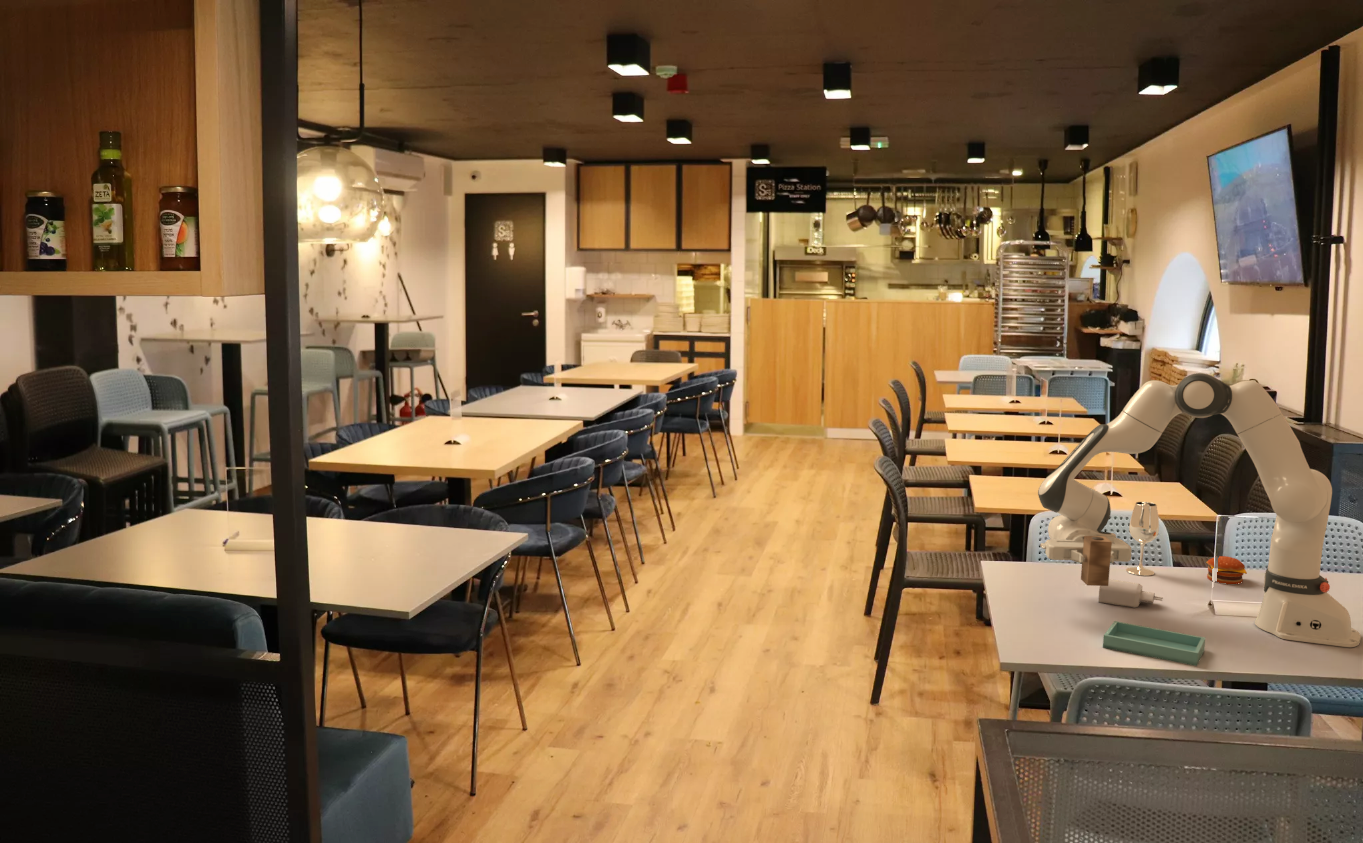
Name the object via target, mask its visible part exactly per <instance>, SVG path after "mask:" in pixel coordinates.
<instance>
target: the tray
mask: <svg viewBox="0 0 1363 843" xmlns="http://www.w3.org/2000/svg"><path fill="white" fill-rule="evenodd" d="M1205 645H1206V637H1203V636H1199V635H1192V634H1188V633H1184V632H1183V633H1181V632H1178V631H1172V630H1171V631H1170V630H1166V629H1161V628H1155V627H1150V626H1149V627H1148V626H1143V625H1139V624H1133V623H1129V622H1123V621H1118V620H1117V621H1116V620H1114V621H1113V622H1112V624H1111V625H1110V626H1109V627H1108V629H1107V630H1106V632H1105V633H1104V634H1103V641H1102V648H1103V649H1108V650H1113V651H1117V652H1118V651H1119V652H1123V653H1128V654H1133V655H1139V656H1142V657H1144V656H1145V657H1148V658H1153V659H1154V658H1155V659H1158V660H1164V661H1169V662H1175V663H1180V664H1185V665H1189V666H1194V667H1197V666H1198V665H1199V662H1200V660H1201V659H1202V657H1203V654H1204V652H1205V649H1206V648H1205V647H1206V646H1205Z"/></svg>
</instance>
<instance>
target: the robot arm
mask: <svg viewBox="0 0 1363 843" xmlns="http://www.w3.org/2000/svg"><path fill="white" fill-rule="evenodd" d="M1180 414H1185V415H1187V416H1190V417H1193V418H1196V419H1197V418H1199V419H1204V418H1205V419H1206V418H1208V417H1212V416H1213V415H1222V416H1224V418H1226V419H1227V420H1228V422H1229V423H1230V424H1231V425H1232V426H1231V427H1232V428H1233V430H1234V431H1235V433H1236V434H1237V436H1238V437H1239V438H1238V439H1239V440H1240V441H1241V444H1243V446H1244V449H1245V450H1246V451H1247V453H1248V455H1249V457H1250V460H1251V461H1252V463H1253V464H1254V467H1255V470H1256V471H1257V474H1258V476H1259V479H1260V481H1261V484H1262V486H1263V489H1264V491H1265V493H1266V494H1267V497H1268V499H1269V501H1270V505H1271V508H1272V510H1273V512H1274V514H1275V515H1276V517H1275V522H1274V526H1273V530H1272V534H1271V537H1270V538H1271V539H1270V548H1269V556H1268V563H1267V564H1268V566H1267V568H1266V570H1265V573H1264V579H1263V591H1264V593H1263V598H1262V600H1261V605H1260V608H1259V611H1258V614H1257V617H1256V619H1255V620H1254V624H1255V625H1256V627H1257V628H1259V629H1260V630H1262V631H1265V632H1267V633H1270V634H1273V635H1274V636H1276V637H1278V638H1279V639H1283V640H1288V641H1297V642H1305V643H1312V644H1320V645H1325V646H1326V645H1327V646H1336V647H1343V648H1355V647H1357V646H1358V645H1360V644H1359V643H1361V641H1362V639H1361V637H1362V636H1361V634H1360V632H1359V631H1358V630H1357V629H1355V628H1353V627H1352V621H1351V615H1350V613H1349V611H1348V609H1347V608H1346V607H1345V606H1343V605H1342V604H1341V603H1340V602H1339V601H1338V600H1336V599H1335V598H1334V597H1333V596H1332V595H1331V594H1329V593H1328V592H1330V588H1331V586H1330V585H1331V584H1329V581H1328V579H1327V577H1323V576H1322V575H1320V572H1321V564H1322V558H1323V557H1322V556H1323V555H1322V554H1323V546H1324V541H1325V538H1326V537H1325V536H1326V530H1327V526H1328V521H1329V515H1330V509H1331V504H1332V496H1333V487H1332V483H1331V481H1330V479H1328V477H1327V476H1326V475H1325V474H1324V473H1322V472H1320V471H1319V470H1317V469H1313V468H1310V466H1309V464H1308V462H1307V459H1306V457H1305V454H1304V452H1303V449H1302V446H1301V443H1300V440H1299V439H1298V437H1297V435H1296V434H1295V432H1294V431H1293V429H1292V427H1291V426H1290V424H1289V422H1288V421H1287V419H1286V418H1285V416H1284V414H1283V413H1282V411H1281V409H1280V407H1279V406H1278V405H1277V403H1276V402H1275V400H1274V399H1273V398H1272V396H1271V395H1270V394H1269V392H1268V391H1267V390H1266V389H1265V388H1264V387H1263V386H1262V385H1261V384H1260V383H1259V382H1256V381H1255V380H1242V381H1239V382H1236V383H1234V384H1231V385H1228V384H1227V383H1225V382H1223V381H1222V380H1220V379H1218V378H1217V377H1215V376H1214V375H1212V374H1209V373H1204V372H1195V373H1192V374H1189V375H1187V376H1185V377H1184V378H1183V379H1182V380H1180V382H1179V383H1178V384H1175V385H1172V384H1168V383H1167V382H1164V381H1161V380H1156V379H1155V380H1149V381H1146V382H1145V383H1143V384H1142V385H1141V387H1139V388H1138V390H1137V391H1136V392H1134V394H1133V396H1131V397H1130V399H1129V401H1128V402H1127V403H1126V405H1125V406H1124V407H1123V409H1122V411H1121V412H1120V413H1119V414H1118V416H1116V417H1115V418H1114V419H1112V420H1111V421H1110V422H1108V423H1106V424H1103V423H1102V424H1098V425H1097V426H1095V427H1094V428H1093V429H1092V430H1091V431H1090V432H1088V434H1087V435H1086V436H1085V437H1084V438H1083V439H1082V440H1081V441H1080V442H1079V443H1078V444H1077V446H1076V447H1075V448H1074V449H1073V450H1072V451H1071V452H1070V453H1069V454H1068V456H1066V458H1065V459H1064V460H1063V461H1062V462H1061V463H1060V464H1059V465H1058V466H1057V467H1056V468H1055V469H1054V470H1053V471H1052V472H1051V473H1050V474H1049V475H1048V476H1046V478H1044V480H1043V481H1042V483H1041V484H1040V485H1039V487H1038V490H1037V496H1038V498H1039V502H1040V504H1041V506H1042V507H1043V508H1044V509H1046V510H1049V511H1050V512H1053V513H1057V514H1059V515H1056V516H1055V517H1053V518H1052V519H1051V520H1050V522H1048V523H1049V524H1048V527H1047V528H1048V529H1047V530H1048V536H1049V539H1047V540H1046V541H1045V542H1041V543H1040V545H1039V546H1040V548H1041V549H1043V550H1045V552H1044V553H1045V555H1046V557H1047V559H1050V560H1052V561H1072V562H1074V563H1079V564H1082V562H1087V560H1086V559H1087V555H1086V554H1083V544H1084V536H1105V537H1106V538H1108V539H1109V540H1110V541H1111V542H1112V546H1111V558H1110V564H1114V562H1121V563H1122V562H1125V563H1126V562H1130V561H1131V558H1132V552H1133V551H1132V546H1131V545H1129V544H1128V543H1127V542H1126V541H1124V540H1122V539H1120V538H1117V535H1116V533H1115V532H1114V533H1113V532H1109V531H1103V529H1104V528H1106V526H1107V524H1108V523H1109V520H1110V518H1111V512H1112V510H1111V509H1112V508H1111V503H1110V499H1109V497H1108V496H1107V495H1105V494H1103V493H1101V492H1099V491H1098V490H1096V489H1093V488H1092V487H1089V486H1087V485H1085V484H1083V483H1081V482H1080V481H1077V480H1076V479H1075V478H1076V477H1077V475H1078V474H1079V473H1080V472H1081V471H1082V470H1083V469H1084V467H1086V465H1088V463H1089V462H1090V461H1091V460H1093V458H1094V457H1095V456H1097V455H1099V454H1102V453H1118V454H1119V453H1120V454H1128V455H1130V454H1131V455H1133V454H1141V453H1145V452H1147V451H1148V450H1150V449H1151V448H1152V447H1154V445H1155V444H1156V443H1157V442H1158V440H1159V439H1160V438H1161V436H1162V434H1163V433H1164V432H1165V430H1166V428H1167V426H1168V425H1169V423H1170V422H1172V420H1173V419H1174V418H1175V417H1176V416H1178V415H1180Z"/></svg>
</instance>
